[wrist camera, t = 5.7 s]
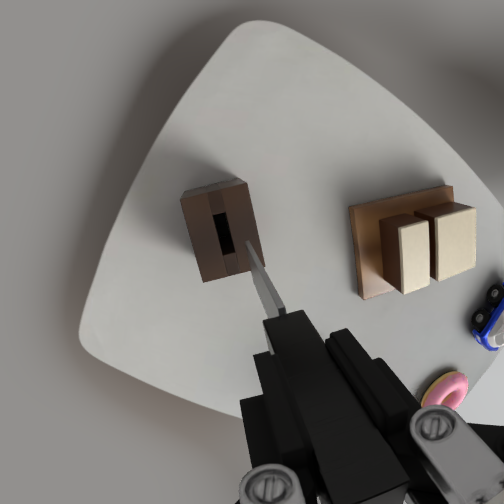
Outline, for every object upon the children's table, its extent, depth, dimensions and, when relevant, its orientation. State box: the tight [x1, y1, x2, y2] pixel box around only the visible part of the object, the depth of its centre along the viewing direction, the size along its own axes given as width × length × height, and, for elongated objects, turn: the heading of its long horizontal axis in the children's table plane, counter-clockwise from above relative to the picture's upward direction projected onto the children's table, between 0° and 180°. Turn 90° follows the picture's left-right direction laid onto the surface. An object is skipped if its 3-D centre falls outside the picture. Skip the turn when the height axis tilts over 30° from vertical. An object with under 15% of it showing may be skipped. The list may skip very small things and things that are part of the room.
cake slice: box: [379, 213, 430, 295], centre depth 36 cm, size 8×4×5 cm, turn 12°
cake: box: [414, 201, 476, 282], centre depth 36 cm, size 8×7×5 cm
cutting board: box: [349, 185, 454, 300], centre depth 39 cm, size 12×16×2 cm
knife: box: [245, 241, 411, 504], centre depth 13 cm, size 3×2×18 cm, turn 12°
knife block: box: [180, 178, 265, 283], centre depth 32 cm, size 8×6×7 cm
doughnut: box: [421, 371, 469, 410], centre depth 49 cm, size 11×11×4 cm
